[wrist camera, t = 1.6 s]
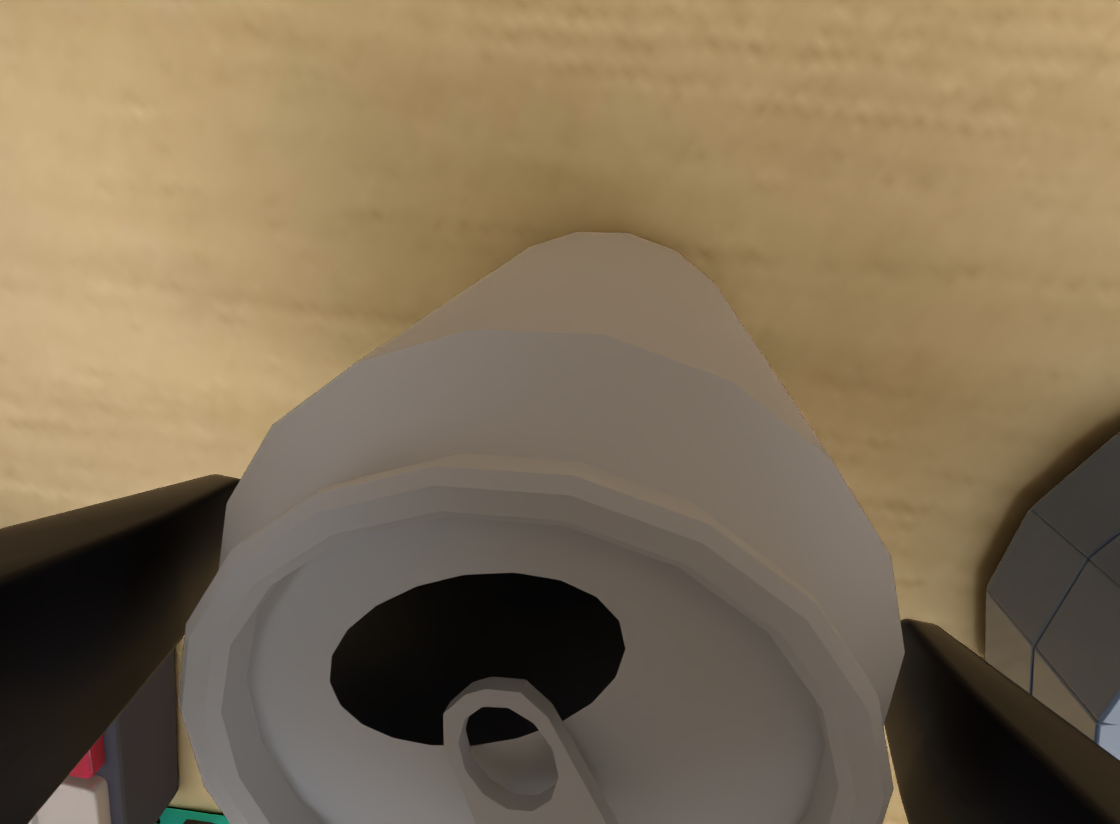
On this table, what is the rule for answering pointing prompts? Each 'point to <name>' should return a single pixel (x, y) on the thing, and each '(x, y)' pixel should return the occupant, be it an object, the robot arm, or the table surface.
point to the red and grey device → (125, 764)
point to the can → (549, 576)
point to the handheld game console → (190, 817)
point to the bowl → (1065, 600)
